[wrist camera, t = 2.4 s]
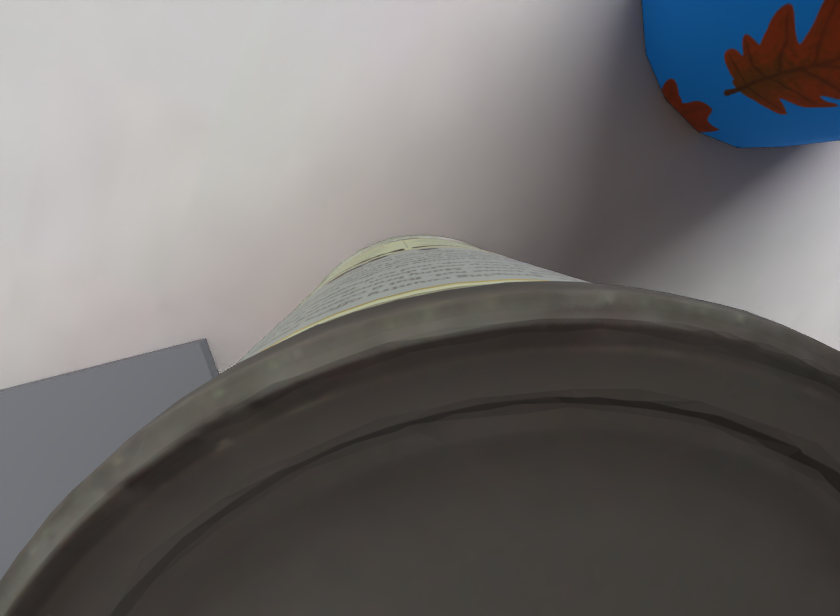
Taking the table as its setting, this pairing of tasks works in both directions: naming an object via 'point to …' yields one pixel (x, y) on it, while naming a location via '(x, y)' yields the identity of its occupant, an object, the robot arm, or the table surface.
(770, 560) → the coffee can
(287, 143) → the table surface
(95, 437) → the placemat
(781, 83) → the thermos
